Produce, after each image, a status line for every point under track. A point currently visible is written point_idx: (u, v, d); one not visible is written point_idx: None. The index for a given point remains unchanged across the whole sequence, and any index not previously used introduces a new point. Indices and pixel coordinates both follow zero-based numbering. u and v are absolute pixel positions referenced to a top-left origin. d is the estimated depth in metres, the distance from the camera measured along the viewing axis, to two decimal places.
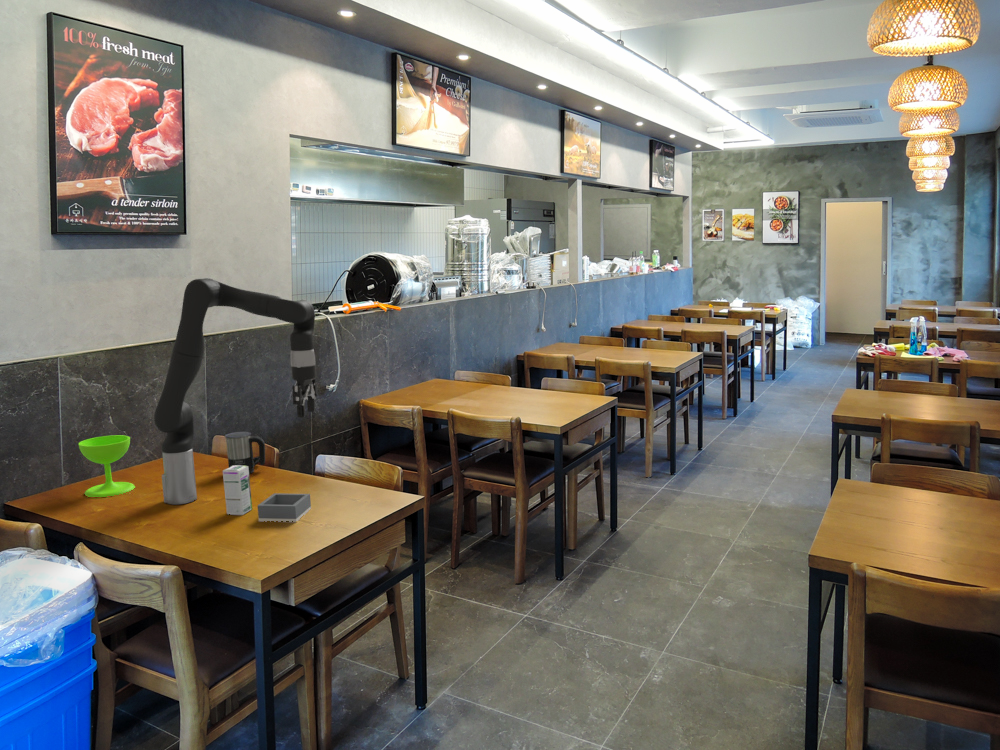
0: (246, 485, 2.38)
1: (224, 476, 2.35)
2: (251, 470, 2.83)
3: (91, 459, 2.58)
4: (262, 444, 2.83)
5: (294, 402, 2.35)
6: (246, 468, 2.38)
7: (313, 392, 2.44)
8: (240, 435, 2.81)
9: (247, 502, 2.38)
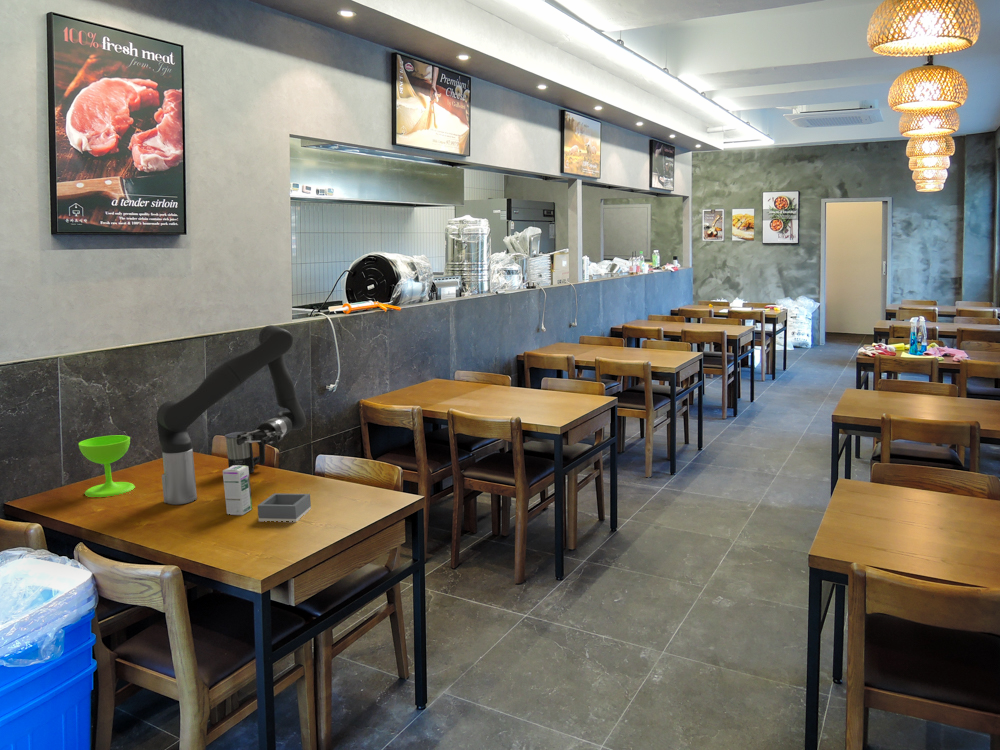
0: (246, 485, 2.38)
1: (224, 476, 2.35)
2: (251, 470, 2.83)
3: (91, 459, 2.58)
4: None
5: (277, 436, 2.51)
6: (246, 468, 2.38)
7: None
8: None
9: (247, 502, 2.38)
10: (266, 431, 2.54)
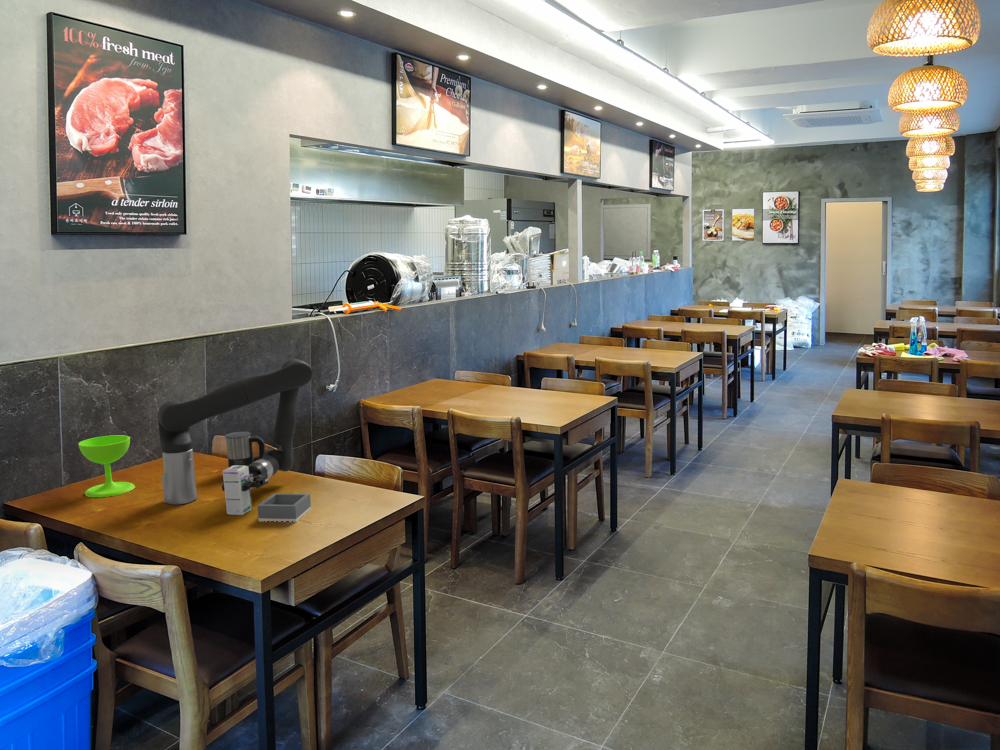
0: None
1: (224, 476, 2.35)
2: None
3: (91, 459, 2.58)
4: (262, 444, 2.83)
5: (259, 481, 2.40)
6: (246, 468, 2.38)
7: None
8: (240, 435, 2.81)
9: (247, 502, 2.38)
10: (250, 475, 2.43)
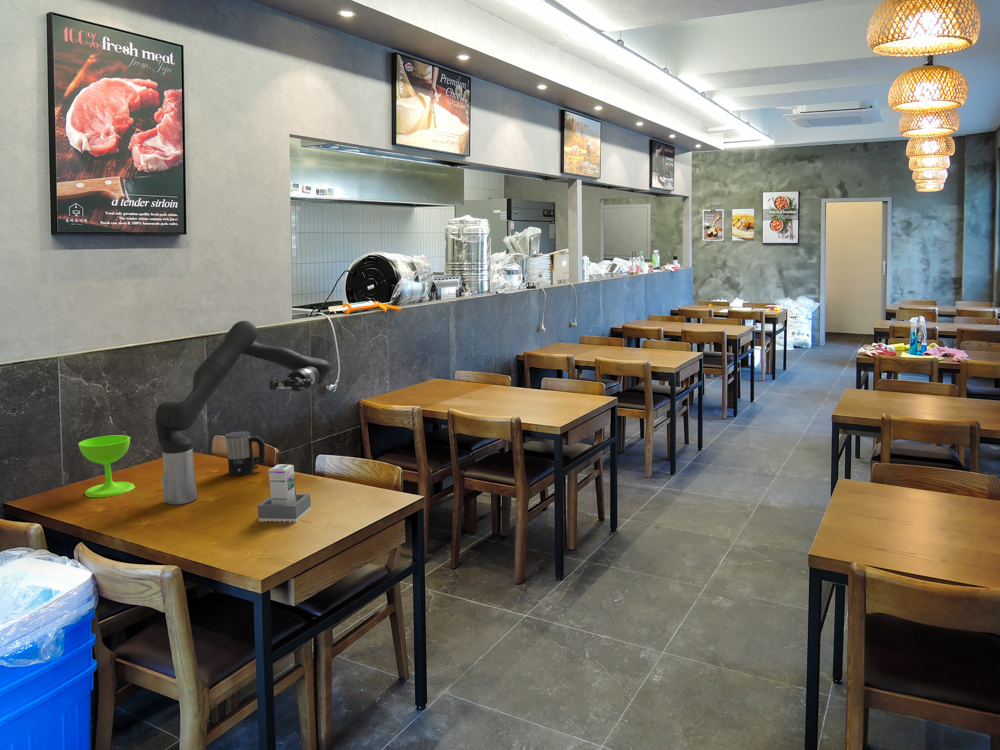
0: (291, 484, 2.34)
1: (270, 475, 2.31)
2: (251, 470, 2.83)
3: (91, 459, 2.58)
4: (262, 444, 2.83)
5: (308, 382, 2.65)
6: (292, 467, 2.34)
7: (283, 388, 2.68)
8: (240, 435, 2.81)
9: (293, 501, 2.35)
10: (297, 378, 2.68)
